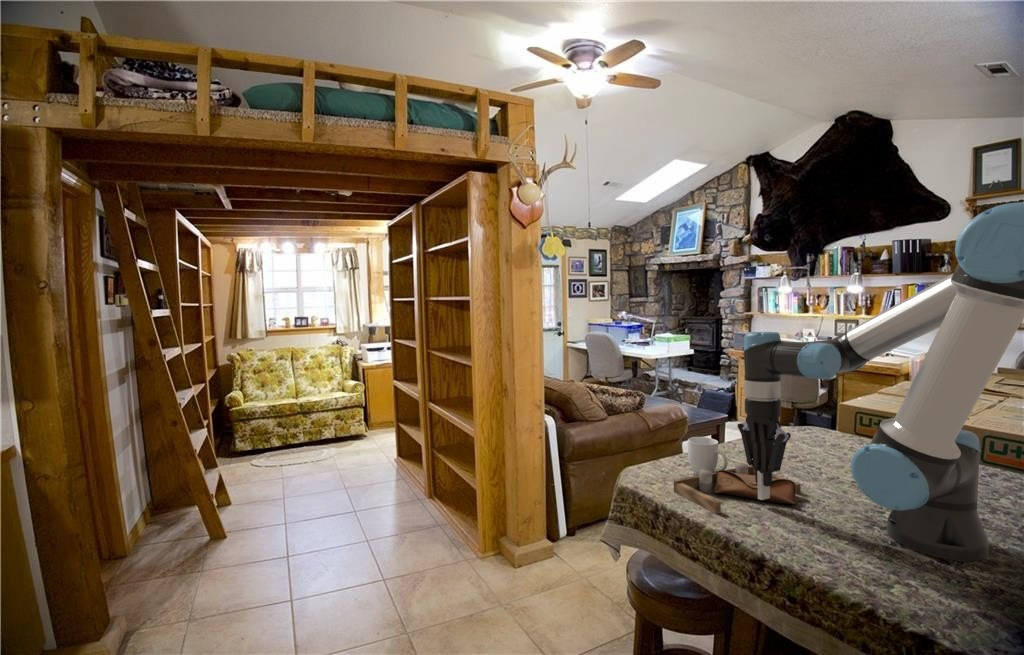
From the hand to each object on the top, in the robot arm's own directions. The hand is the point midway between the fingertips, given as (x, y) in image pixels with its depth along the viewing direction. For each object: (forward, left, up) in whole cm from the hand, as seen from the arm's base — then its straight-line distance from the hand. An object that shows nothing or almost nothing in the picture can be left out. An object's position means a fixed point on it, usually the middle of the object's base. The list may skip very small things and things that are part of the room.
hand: (763, 498), depth 114 cm
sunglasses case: (+4, -1, -3) cm, 5 cm away
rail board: (+8, 0, -2) cm, 8 cm away
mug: (+21, -3, -2) cm, 21 cm away
